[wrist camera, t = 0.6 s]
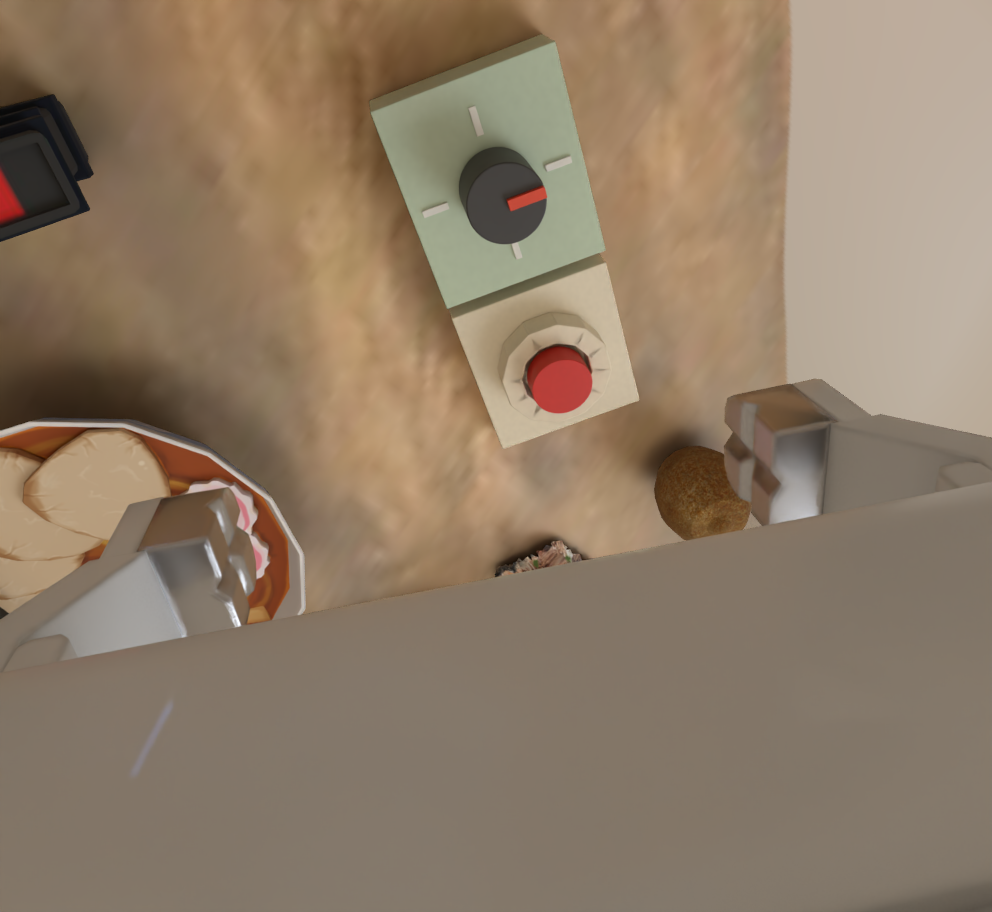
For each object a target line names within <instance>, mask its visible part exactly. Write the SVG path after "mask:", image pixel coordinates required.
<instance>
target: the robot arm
mask: <svg viewBox="0 0 992 912" xmlns="http://www.w3.org/2000/svg"><path fill="white" fill-rule="evenodd" d="M725 423H726V424H727V425H728V427H729V428H730V429H731V430H732V431H733V434H732V435H731V437H730V438H729V439H728V441H727V442H726V444H725V445H724V464H725V469H726V473H727V477H728V481H729V483H730V485H731V487H732V489H733V491H734V492H735V493H736V494H737V496H738V497H739V498H740V499H743V500H746V501H749V502H751V513H752V514H753V516H754V517H755V518H756V519H757V520H758V522H759V523H760V524H761V525H762V526H760V527H755V528H750V529H744V530H739V531H734V532H729V533H724V534H718V535H713V536H708V537H703V538H698V539H692V540H687V541H682V542H677V543H672V544H666V545H661V546H656V547H651V548H646V549H640V550H635V551H630V552H625V553H620V554H614V555H609V556H604V557H599V558H593V559H588V560H583V561H578V562H573V563H567V564H562V565H557V566H552V567H547V568H541V569H536V570H531V571H526V572H521V573H515V574H510V575H505V576H500V577H495V578H489V579H484V580H479V581H474V582H468V583H463V584H458V585H453V586H448V587H442V588H437V589H432V590H427V591H422V592H416V593H411V594H406V595H401V596H396V597H390V598H385V599H380V600H375V601H369V602H364V603H359V604H354V605H349V606H343V607H338V608H333V609H328V610H323V611H317V612H312V613H307V614H302V615H297V616H291V617H286V618H281V619H276V620H270V621H265V622H260V623H255V624H250V625H247V621H248V617H249V612H250V606H249V603H248V600H247V597H248V596H249V595H250V594H251V593H252V592H253V591H254V590H255V584H256V579H257V575H256V559H255V555H254V550H253V546H252V543H251V540H250V537H249V534H248V533H246V532H245V531H244V530H242V529H241V528H239V527H238V526H237V522H238V518H239V515H240V508H239V505H238V503H237V500H236V497H235V495H234V493H233V492H232V490H231V489H230V488H229V487H225V488H219V489H212V490H206V491H200V492H194V493H188V494H182V495H176V496H170V497H165V498H164V497H159V498H155V499H150V500H146V501H141V502H136V503H132V504H129V505H128V507H127V509H126V510H125V512H124V514H123V516H122V518H121V520H120V521H119V523H118V525H117V527H116V529H115V531H114V532H113V534H112V536H111V538H110V540H109V542H108V544H107V545H106V547H105V549H104V551H103V553H102V555H101V556H100V558H99V559H96V560H91V561H88V562H87V563H85V564H84V565H82V566H81V567H79V568H78V569H76V570H74V571H73V572H71V573H70V574H68V575H67V576H65V577H64V578H62V579H61V580H59V581H58V582H56V583H55V584H53V585H52V586H50V587H49V588H47V589H46V590H44V591H43V592H41V593H40V594H38V595H37V596H35V597H34V598H32V599H31V600H29V601H28V602H26V603H25V604H23V605H22V606H20V607H19V608H17V609H16V610H14V611H12V612H11V613H9V614H8V615H6V616H5V617H3V618H2V619H0V912H992V438H991V437H986V436H981V435H977V434H972V433H967V432H962V431H957V430H953V429H948V428H943V427H939V426H934V425H929V424H924V423H920V422H915V421H910V420H905V419H901V418H896V417H891V416H887V415H881V414H880V415H875V416H871V415H870V414H868V413H867V412H866V411H864V410H863V409H861V408H860V407H859V406H857V405H856V404H854V403H853V402H852V401H851V400H849V399H848V398H847V397H845V396H844V395H842V394H841V393H840V392H838V391H837V390H835V389H834V388H833V387H831V386H830V385H829V384H827V383H826V382H825V381H823V380H821V379H811V380H807V381H803V382H798V383H794V384H786V385H781V386H776V387H771V388H766V389H761V390H757V391H752V392H747V393H742V394H737V395H733V396H731V397H729V398H727V402H726V406H725Z"/></svg>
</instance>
